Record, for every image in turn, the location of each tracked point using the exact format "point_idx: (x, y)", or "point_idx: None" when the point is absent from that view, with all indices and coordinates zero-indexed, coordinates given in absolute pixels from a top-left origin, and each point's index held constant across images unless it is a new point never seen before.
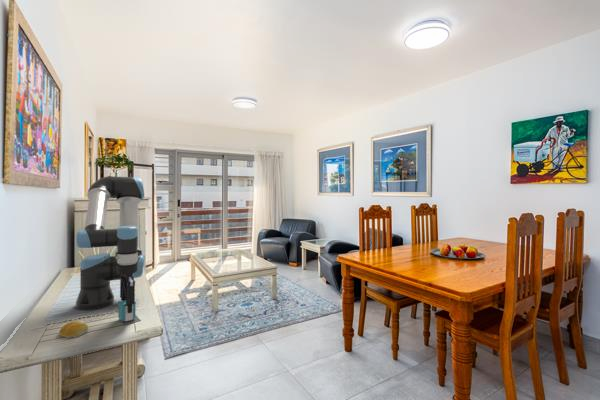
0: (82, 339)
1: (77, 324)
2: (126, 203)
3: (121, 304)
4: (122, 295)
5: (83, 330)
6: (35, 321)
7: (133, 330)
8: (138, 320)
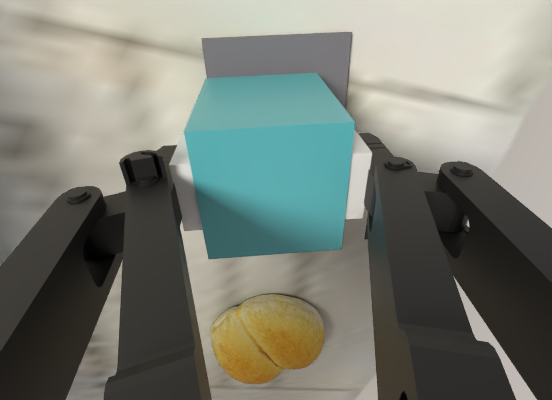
0: (364, 306)
1: (288, 358)
2: None
3: (309, 246)
4: (188, 277)
5: (317, 320)
6: None
7: (472, 118)
8: (342, 50)
